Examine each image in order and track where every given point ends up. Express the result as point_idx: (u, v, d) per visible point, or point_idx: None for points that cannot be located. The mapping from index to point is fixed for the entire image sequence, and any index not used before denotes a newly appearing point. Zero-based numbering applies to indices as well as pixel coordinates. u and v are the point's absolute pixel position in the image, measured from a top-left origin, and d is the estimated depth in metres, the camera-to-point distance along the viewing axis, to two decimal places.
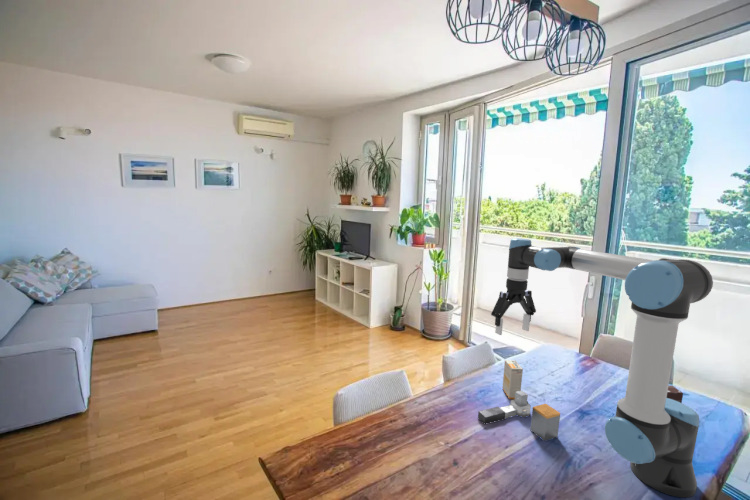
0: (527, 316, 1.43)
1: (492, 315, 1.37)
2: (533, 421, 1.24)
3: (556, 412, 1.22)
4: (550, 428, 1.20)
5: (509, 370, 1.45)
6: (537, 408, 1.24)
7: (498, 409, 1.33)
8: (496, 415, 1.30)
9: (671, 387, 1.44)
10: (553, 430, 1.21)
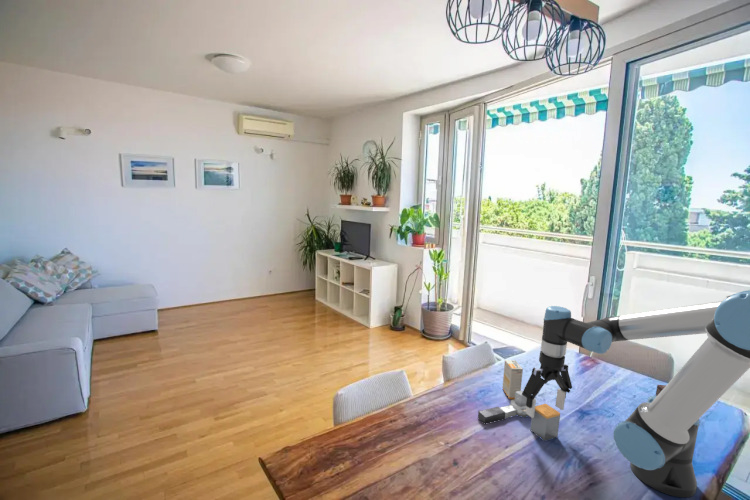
0: (562, 393, 1.24)
1: (523, 395, 1.19)
2: (533, 421, 1.24)
3: (556, 412, 1.22)
4: (550, 428, 1.20)
5: (509, 370, 1.45)
6: (537, 408, 1.24)
7: (498, 409, 1.33)
8: (496, 415, 1.30)
9: None
10: (553, 430, 1.21)
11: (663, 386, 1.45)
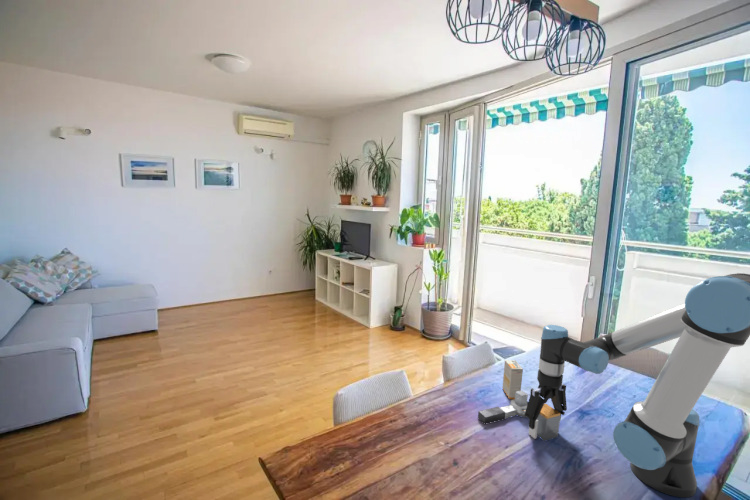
0: None
1: (526, 416, 1.20)
2: None
3: (556, 412, 1.22)
4: (550, 428, 1.20)
5: (509, 370, 1.45)
6: None
7: (498, 409, 1.33)
8: (496, 415, 1.30)
9: None
10: (553, 430, 1.21)
11: None
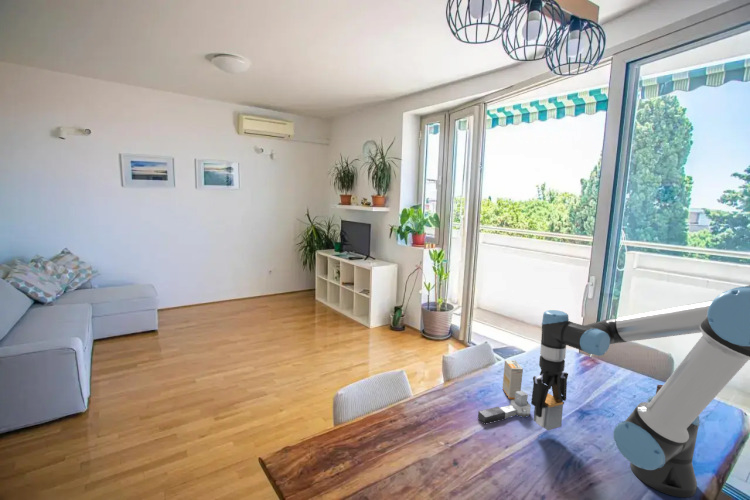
0: None
1: (532, 404, 1.20)
2: None
3: (559, 401, 1.20)
4: (553, 417, 1.19)
5: (509, 370, 1.45)
6: None
7: (498, 409, 1.33)
8: (496, 415, 1.30)
9: None
10: (556, 419, 1.20)
11: None
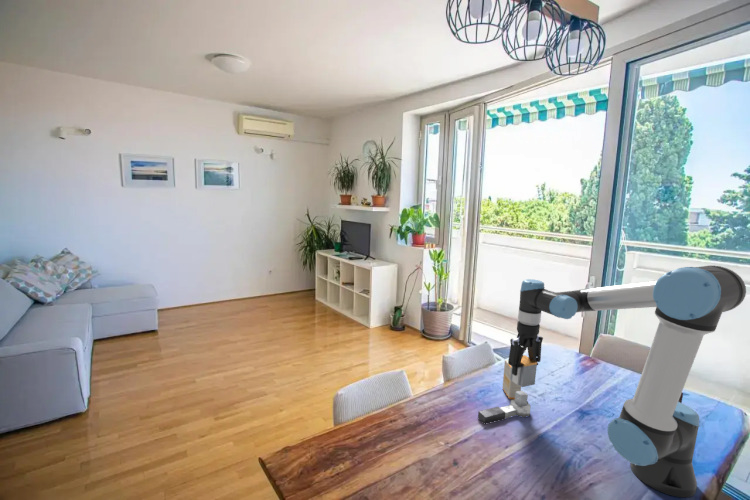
0: None
1: (509, 364, 1.32)
2: None
3: (533, 361, 1.33)
4: (527, 375, 1.31)
5: (509, 370, 1.45)
6: None
7: (498, 409, 1.33)
8: (496, 415, 1.30)
9: None
10: (530, 377, 1.32)
11: None
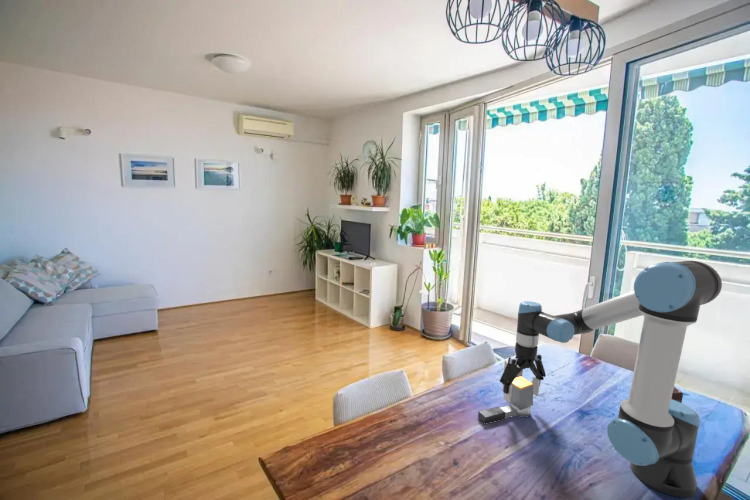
0: (536, 381, 1.37)
1: (501, 382, 1.31)
2: None
3: (529, 383, 1.33)
4: (524, 398, 1.32)
5: None
6: None
7: (498, 409, 1.33)
8: (496, 415, 1.30)
9: None
10: (528, 399, 1.33)
11: None
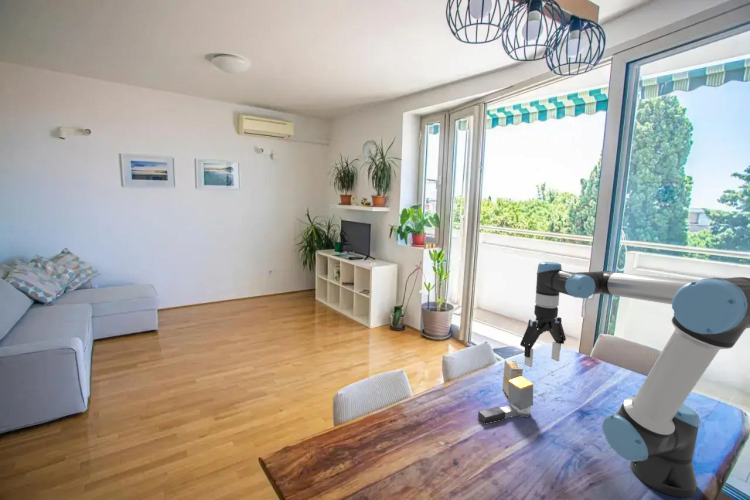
0: (557, 345, 1.33)
1: (521, 345, 1.27)
2: (510, 393, 1.36)
3: (529, 383, 1.33)
4: (524, 398, 1.32)
5: (509, 370, 1.45)
6: (512, 381, 1.35)
7: (498, 409, 1.33)
8: (496, 415, 1.30)
9: None
10: (528, 399, 1.33)
11: None
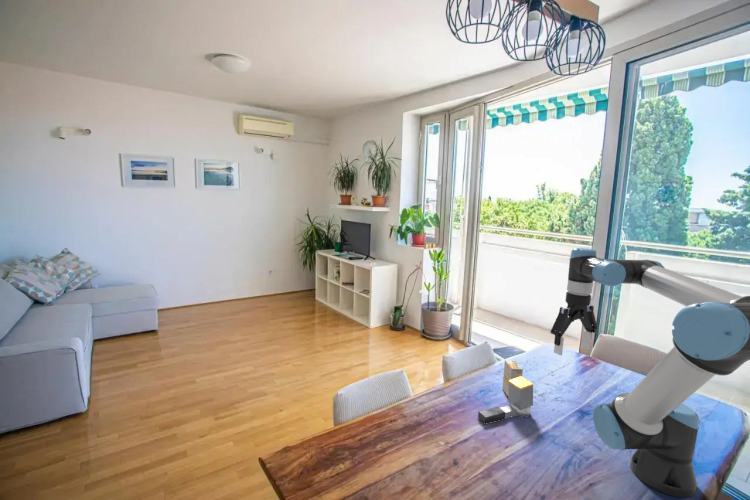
0: (588, 333, 1.29)
1: (552, 333, 1.24)
2: (510, 393, 1.36)
3: (529, 383, 1.33)
4: (524, 398, 1.32)
5: (509, 370, 1.45)
6: (512, 381, 1.35)
7: (498, 409, 1.33)
8: (496, 415, 1.30)
9: None
10: (528, 399, 1.33)
11: None
